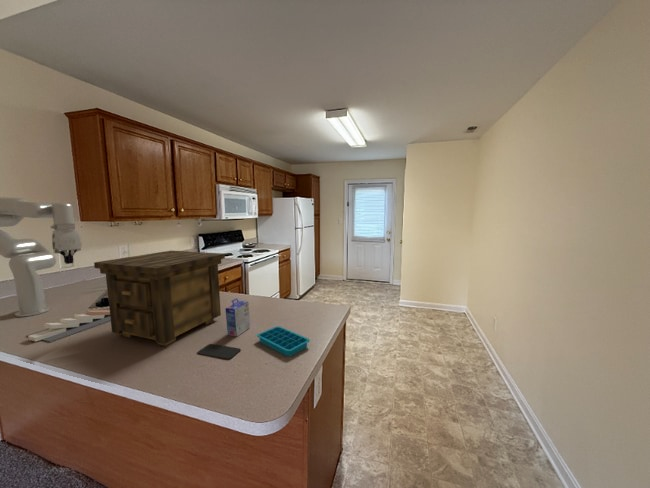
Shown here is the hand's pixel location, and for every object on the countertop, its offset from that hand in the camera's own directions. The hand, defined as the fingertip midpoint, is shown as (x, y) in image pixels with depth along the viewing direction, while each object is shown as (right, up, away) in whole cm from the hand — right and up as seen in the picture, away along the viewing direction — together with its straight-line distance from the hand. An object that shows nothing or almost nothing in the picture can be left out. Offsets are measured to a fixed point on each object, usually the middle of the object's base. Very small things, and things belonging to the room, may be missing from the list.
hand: (69, 263), depth 134 cm
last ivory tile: (+14, -28, -17) cm, 36 cm away
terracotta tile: (+21, -26, +1) cm, 33 cm away
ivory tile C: (+16, -27, -13) cm, 34 cm away
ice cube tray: (+115, -31, -30) cm, 122 cm away
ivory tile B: (+17, -27, -8) cm, 33 cm away
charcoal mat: (+16, -28, -9) cm, 34 cm away
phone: (+91, -31, -35) cm, 103 cm away
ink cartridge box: (+93, -29, -18) cm, 99 cm away
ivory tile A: (+19, -26, -3) cm, 33 cm away
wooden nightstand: (+61, -29, -14) cm, 69 cm away
